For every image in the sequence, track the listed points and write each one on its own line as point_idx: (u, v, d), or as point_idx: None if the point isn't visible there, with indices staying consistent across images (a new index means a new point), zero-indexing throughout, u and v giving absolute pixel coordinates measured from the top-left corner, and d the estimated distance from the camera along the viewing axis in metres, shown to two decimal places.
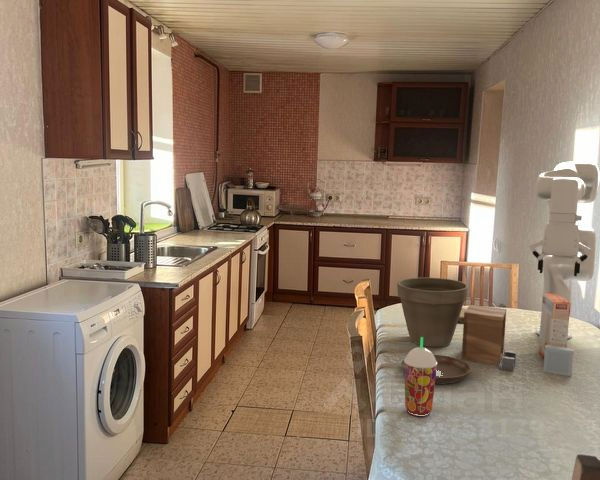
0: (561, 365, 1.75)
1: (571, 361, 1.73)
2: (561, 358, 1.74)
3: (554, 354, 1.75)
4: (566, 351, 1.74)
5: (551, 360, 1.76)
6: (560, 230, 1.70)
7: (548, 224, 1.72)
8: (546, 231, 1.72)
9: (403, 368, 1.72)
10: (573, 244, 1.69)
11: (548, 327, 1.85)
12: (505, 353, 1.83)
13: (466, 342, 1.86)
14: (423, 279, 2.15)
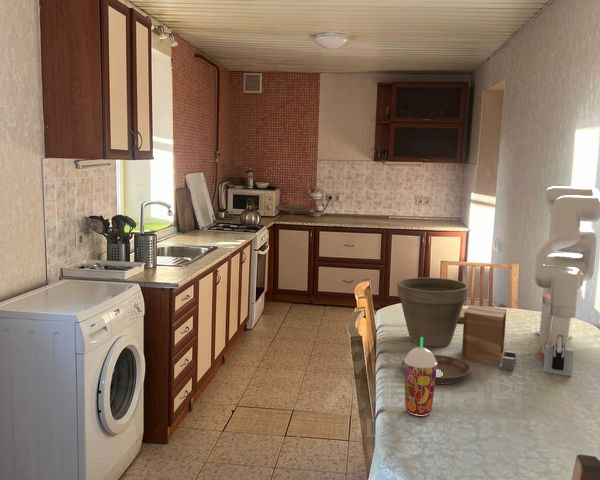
0: None
1: (571, 361, 1.73)
2: None
3: None
4: (567, 351, 1.74)
5: (551, 360, 1.76)
6: None
7: (568, 319, 1.70)
8: (568, 327, 1.70)
9: (403, 368, 1.72)
10: None
11: (548, 327, 1.85)
12: (505, 353, 1.83)
13: (466, 342, 1.86)
14: (423, 279, 2.15)
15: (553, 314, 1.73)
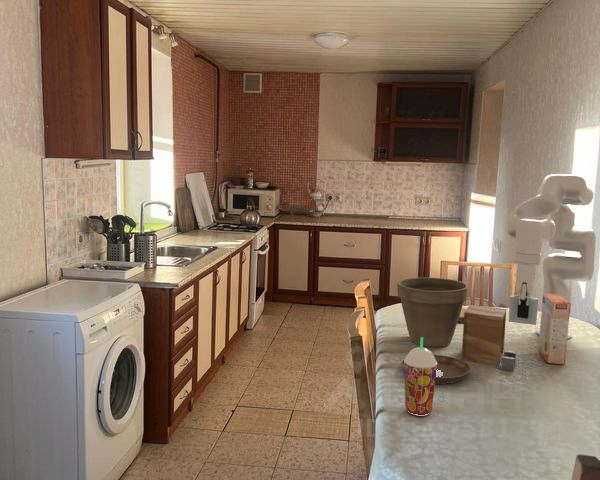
0: None
1: (535, 310, 1.74)
2: None
3: None
4: (531, 300, 1.74)
5: (516, 310, 1.77)
6: None
7: (532, 266, 1.71)
8: (532, 274, 1.71)
9: (403, 368, 1.72)
10: None
11: (548, 327, 1.85)
12: (505, 353, 1.83)
13: (466, 342, 1.86)
14: (423, 279, 2.15)
15: (518, 262, 1.74)
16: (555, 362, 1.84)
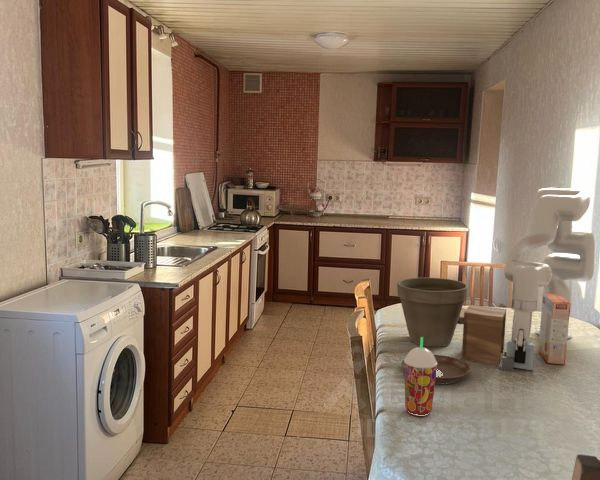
0: None
1: (532, 355, 1.76)
2: None
3: None
4: (528, 346, 1.76)
5: (513, 355, 1.79)
6: (531, 316, 1.76)
7: (529, 313, 1.73)
8: (529, 320, 1.73)
9: (403, 368, 1.72)
10: None
11: (548, 327, 1.85)
12: (505, 353, 1.83)
13: (466, 342, 1.86)
14: (423, 279, 2.15)
15: (515, 308, 1.76)
16: (555, 362, 1.84)
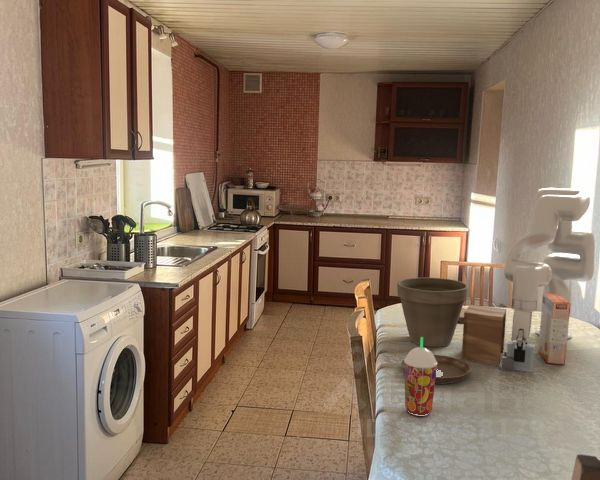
0: None
1: (532, 357, 1.76)
2: None
3: None
4: (528, 348, 1.76)
5: (513, 357, 1.79)
6: (531, 316, 1.76)
7: (529, 313, 1.73)
8: (529, 320, 1.73)
9: (403, 368, 1.72)
10: None
11: (548, 327, 1.85)
12: (505, 353, 1.83)
13: (466, 342, 1.86)
14: (423, 279, 2.15)
15: (515, 308, 1.75)
16: (555, 362, 1.84)
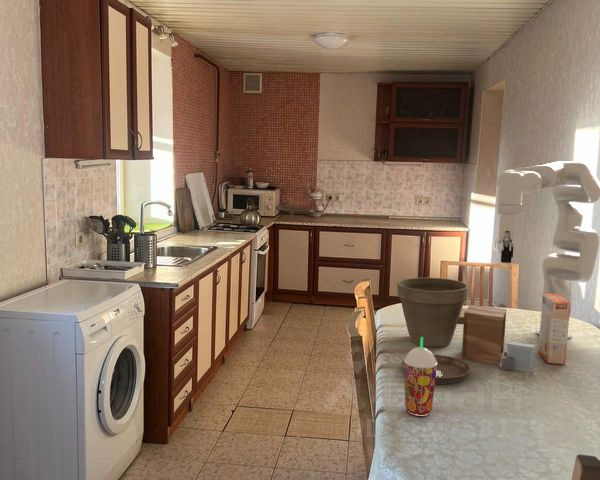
0: (523, 361, 1.77)
1: (532, 357, 1.76)
2: (523, 354, 1.77)
3: (516, 350, 1.78)
4: (528, 348, 1.76)
5: (513, 357, 1.79)
6: None
7: (514, 216, 1.84)
8: (514, 222, 1.84)
9: (403, 368, 1.72)
10: None
11: (548, 327, 1.85)
12: (505, 353, 1.83)
13: (466, 342, 1.86)
14: (423, 279, 2.15)
15: (501, 212, 1.86)
16: (555, 362, 1.84)
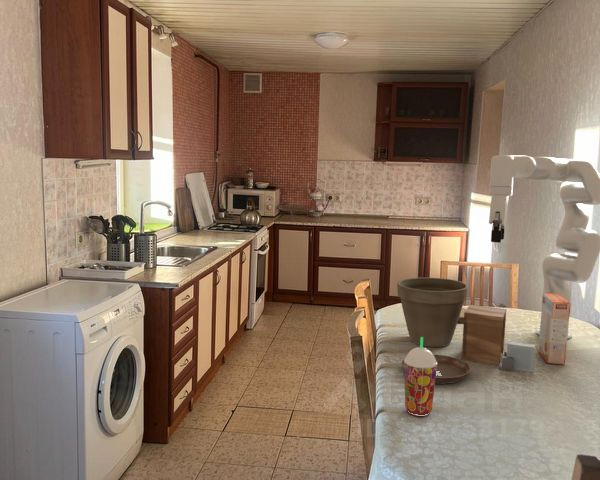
0: (523, 361, 1.77)
1: (532, 357, 1.76)
2: (523, 354, 1.77)
3: (516, 350, 1.78)
4: (528, 348, 1.76)
5: (513, 356, 1.79)
6: (507, 201, 1.94)
7: (505, 197, 1.90)
8: (504, 203, 1.90)
9: None
10: None
11: (548, 327, 1.85)
12: (505, 353, 1.83)
13: (466, 342, 1.86)
14: (423, 279, 2.15)
15: (492, 194, 1.93)
16: (555, 362, 1.84)
